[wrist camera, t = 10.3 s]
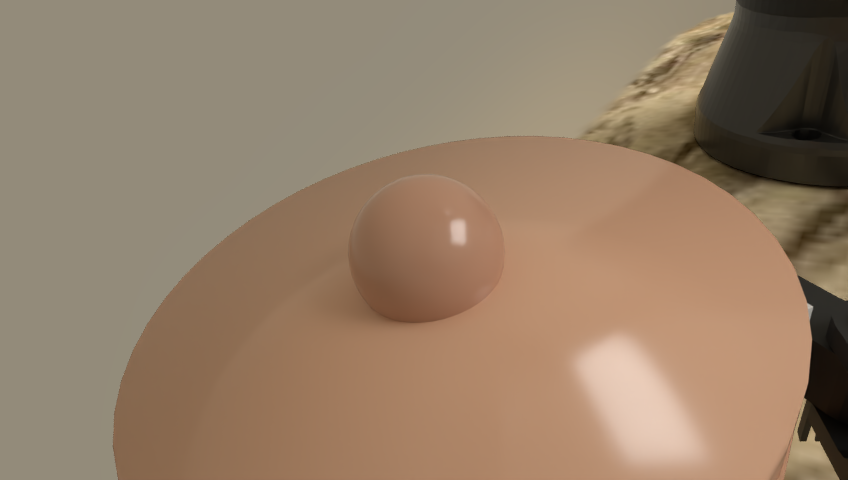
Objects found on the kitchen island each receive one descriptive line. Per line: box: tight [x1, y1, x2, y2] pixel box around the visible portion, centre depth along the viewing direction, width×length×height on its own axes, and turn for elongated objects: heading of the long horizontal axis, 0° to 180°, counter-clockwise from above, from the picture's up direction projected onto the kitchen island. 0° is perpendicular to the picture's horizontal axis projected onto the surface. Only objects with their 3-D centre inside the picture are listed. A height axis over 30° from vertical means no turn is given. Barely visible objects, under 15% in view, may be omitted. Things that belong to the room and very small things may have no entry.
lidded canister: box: [113, 136, 812, 480], centre depth 11 cm, size 10×10×13 cm
